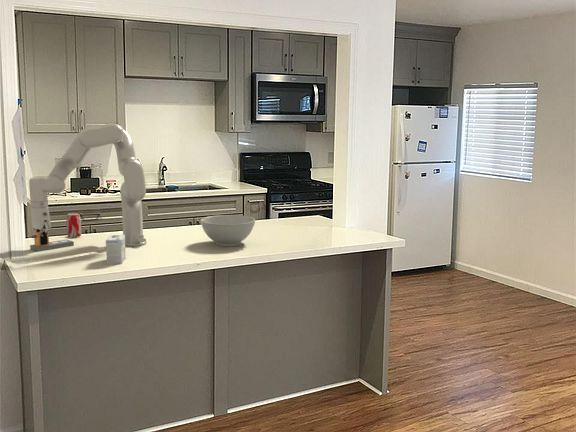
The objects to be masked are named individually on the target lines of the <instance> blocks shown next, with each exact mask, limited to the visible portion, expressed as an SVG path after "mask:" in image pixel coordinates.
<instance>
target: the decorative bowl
mask: <svg viewBox="0 0 576 432" xmlns="http://www.w3.org/2000/svg"><path fill="white" fill-rule="evenodd" d="M255 224H256V219H255V217H252V216H247V215H240V214H219V215H211V216H206V217H203V218H201V219H200V225H201V227H202V229H203V232H204V233H205V234H206V236H207V237H208V238H209V239H210V240H212V241H213V242H215V245H217V246H221V247H235V246H239V245H241V243H242V241H244V240H246V239H247V238H248V237H249V235H250V234H251V233H252V231H253V229H254V227H255Z"/></svg>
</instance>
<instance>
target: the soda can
mask: <svg viewBox="0 0 576 432" xmlns="http://www.w3.org/2000/svg"><path fill="white" fill-rule="evenodd" d="M66 215H67V216H66V218H65V219H66V235H67V237H68V238H70V237H73V238H75V239H77V238H80V237H81V236H82V219H81V216H80V213H78V212H70V213H67V214H66Z"/></svg>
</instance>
